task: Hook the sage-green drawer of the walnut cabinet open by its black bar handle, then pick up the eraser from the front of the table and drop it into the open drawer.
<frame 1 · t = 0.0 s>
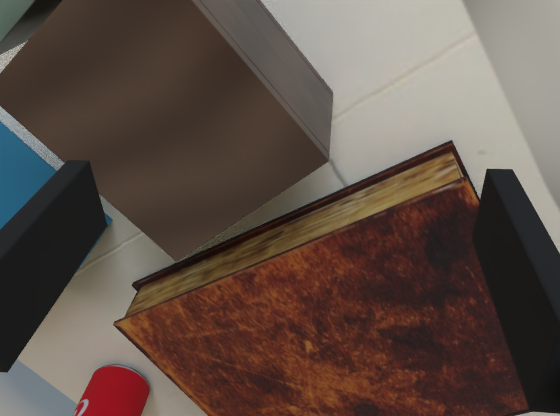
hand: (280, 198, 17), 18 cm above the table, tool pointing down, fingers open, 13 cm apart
beverage can: (124, 377, 54), on the table
drawer: (109, 14, 27), point 5 cm above the table, slide at 1.0 cm
cabinet: (202, 66, 33), on the table
book: (341, 316, 45), on the table
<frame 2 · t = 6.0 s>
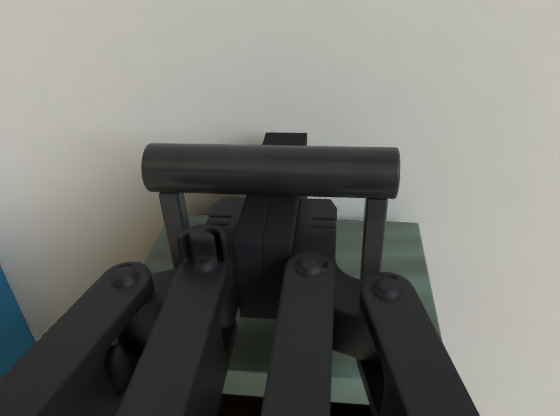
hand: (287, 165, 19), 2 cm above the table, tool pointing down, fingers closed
drawer: (283, 346, 19), point 5 cm above the table, slide at 2.0 cm, touching gripper
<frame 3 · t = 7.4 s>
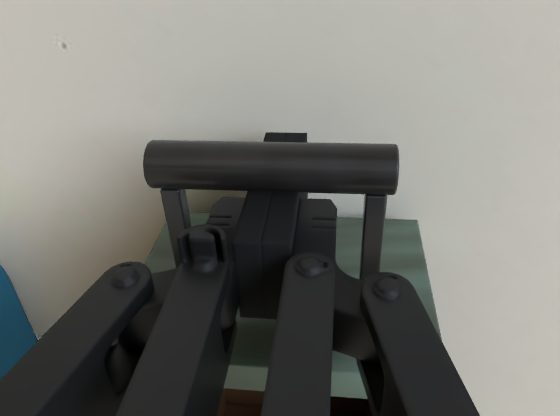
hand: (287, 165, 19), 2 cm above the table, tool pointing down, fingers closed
drawer: (283, 342, 20), point 5 cm above the table, slide at 6.0 cm, touching gripper
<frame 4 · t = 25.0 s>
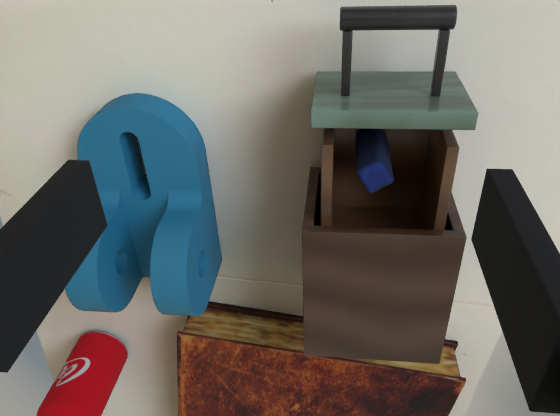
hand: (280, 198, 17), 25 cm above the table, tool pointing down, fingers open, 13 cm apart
beverage can: (106, 343, 61), on the table
drawer: (384, 134, 36), point 5 cm above the table, slide at 7.8 cm, touching eraser
eraser: (371, 134, 40), point 2 cm above the table, touching drawer
cabinet: (371, 231, 47), on the table
camera mount: (157, 183, 47), on the table
book: (307, 385, 61), on the table
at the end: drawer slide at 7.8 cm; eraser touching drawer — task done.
